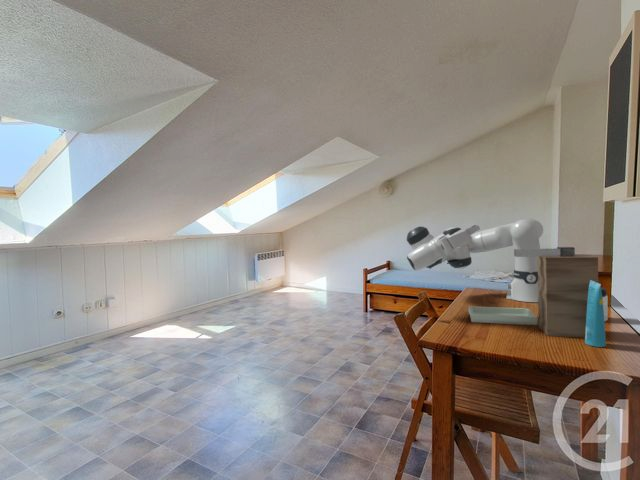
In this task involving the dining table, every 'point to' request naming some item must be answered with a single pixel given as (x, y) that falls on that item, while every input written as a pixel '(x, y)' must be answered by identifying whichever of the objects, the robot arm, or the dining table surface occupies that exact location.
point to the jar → (605, 303)
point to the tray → (502, 315)
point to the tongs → (546, 252)
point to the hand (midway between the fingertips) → (477, 226)
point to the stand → (565, 294)
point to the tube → (595, 317)
